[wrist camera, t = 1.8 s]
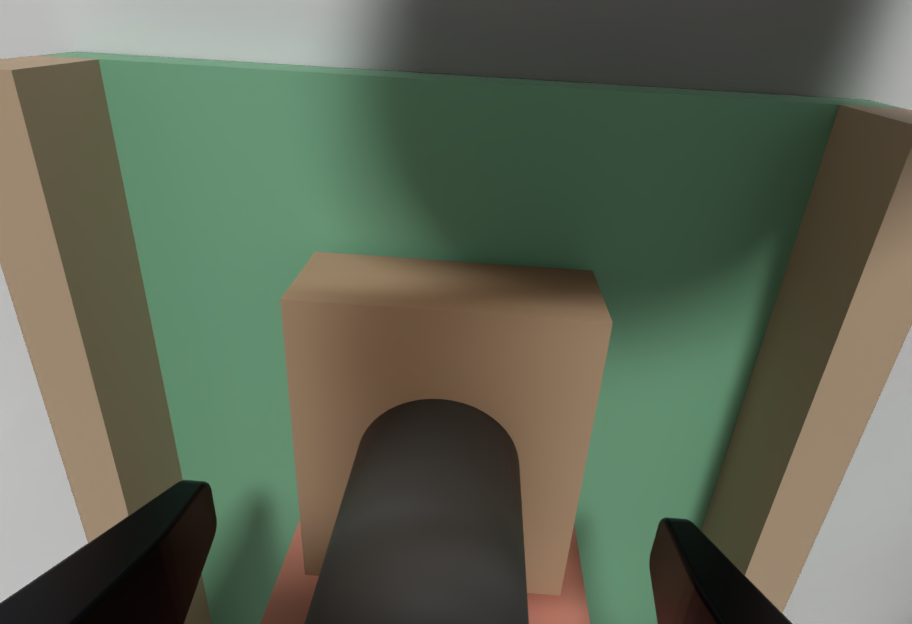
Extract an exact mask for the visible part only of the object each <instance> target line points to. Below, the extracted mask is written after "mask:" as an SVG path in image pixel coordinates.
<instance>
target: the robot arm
mask: <svg viewBox="0 0 912 624" xmlns="http://www.w3.org/2000/svg"><path fill="white" fill-rule="evenodd" d="M216 528H217V517H216V512H215V506H214V500H213V495H212V489H211V486H210V485H209V483H208V482H205V481H195V480H182V481H179V482H177V483H176V484H174V485H173V486H171V487H170V488H168V489H167V490H166V491H164V492H163V493H161V494H160V495H158V496H157V497H155V498H154V499H152V500H151V501H149V502H148V503H146V504H145V505H144V506H142V507H141V508H139V509H138V510H136V511H135V512H133V513H132V514H130V515H129V516H127V517H126V518H124V519H123V520H122V521H120V522H119V523H117V524H116V525H114V526H113V527H111V528H110V529H108V530H107V531H105V532H104V533H102V534H101V535H100V536H98V537H97V538H95V539H94V540H92V541H91V542H89V543H88V544H86V545H85V546H83V547H82V548H80V549H79V550H78V551H76V552H75V553H73V554H72V555H70V556H69V557H67V558H66V559H64V560H63V561H61V562H60V563H58V564H57V565H56V566H54V567H53V568H51V569H50V570H48V571H47V572H45V573H44V574H42V575H41V576H39V577H38V578H36V579H35V580H34V581H32V582H31V583H29V584H28V585H26V586H25V587H23V588H22V589H20V590H19V591H17V592H16V593H14V594H13V595H12V596H10V597H9V598H7V599H6V600H4V601H3V602H1V603H0V624H184V622H185V620H186V617H187V614H188V611H189V608H190V606H191V603H192V600H193V597H194V594H195V591H196V588H197V586H198V583H199V580H200V577H201V574H202V571H203V568H204V566H205V563H206V560H207V557H208V554H209V551H210V548H211V546H212V543H213V540H214V537H215V534H216ZM649 569H650V576H651V583H652V590H653V596H654V603H655V610H656V616H657V623H658V624H792V623H791V622H790V621H789V620H788V619H787V618H786V617H785V616H784V615H783V614H782V613H781V612H780V610H779V609H778V608H777V607H776V606H775V605H774V604H773V603H772V602H771V601H770V600H769V599H768V598H767V597H766V596H765V595H764V594H763V593H762V592H761V591H760V590H759V589H758V588H757V587H756V586H755V585H754V584H753V583H752V582H751V581H750V580H749V579H748V578H747V577H746V576H745V575H744V574H743V573H742V572H741V571H740V570H739V569H738V568H737V567H736V566H735V565H734V564H733V563H732V562H731V561H730V560H729V559H728V558H727V557H726V556H725V555H724V554H723V553H722V552H721V551H720V550H719V549H718V547H717V546H716V545H715V544H714V543H713V542H712V541H711V540H710V539H709V538H708V537H707V536H706V535H705V534H704V533H703V532H702V531H701V530H700V529H699V528H698V527H697V526H696V525H695V524H694V523H693V522H691V521H690V520H688V519H682V518H669V517H665V518H662V519H661V520H660V522H659V524H658V528H657V531H656V535H655V539H654V542H653V546H652V549H651V553H650V559H649Z"/></svg>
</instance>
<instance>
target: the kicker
mask: <svg viewBox="0 0 912 624" xmlns="http://www.w3.org/2000/svg"><path fill="white" fill-rule="evenodd" d="M280 301H281V313H282V324H283V335H284V346H285V357H286V369H287V380H288V391H289V402H290V414H291V425H292V436H293V447H294V458H295V470H296V481H297V492H298V503H299V514H300V520H299V523H298V525H297V528H296V531H295V533H294V536H293V539H292V541H291V544H290V547H289V549H288V552H287V554H286V557H285V560H284V562H283V565H282V568H281V570H280V573H279V576H278V578H277V581H276V584H275V586H274V589H273V592H272V594H271V597H270V600H269V602H268V605H267V607H266V610H265V613H264V615H263V618H262V621H261V623H260V624H590V619H589V613H588V607H587V600H586V594H585V588H584V582H583V575H582V569H581V563H580V557H579V550H578V544H577V538H576V532H575V525H574V522H575V516H576V511H577V506H578V501H579V496H580V490H581V485H582V480H583V475H584V470H585V464H586V459H587V454H588V449H589V444H590V439H591V433H592V428H593V423H594V418H595V413H596V407H597V402H598V397H599V392H600V387H601V381H602V376H603V371H604V366H605V361H606V355H607V350H608V345H609V340H610V335H611V329H612V324H613V322H612V319H611V317H610V314H609V312H608V309H607V306H606V304H605V301H604V299H603V296H602V293H601V291H600V288H599V286H598V283H597V281H596V278H595V275H594V273H593V271H591V270H576V269H561V268H547V267H532V266H518V265H503V264H488V263H474V262H459V261H445V260H430V259H416V258H401V257H386V256H372V255H357V254H343V253H328V252H314V254H313V255H312V257H311V258H310V259H309V261H308V262H307V263H306V265H305V266H304V268H303V269H302V270H301V272H300V273H299V274H298V276H297V277H296V278H295V280H294V281H293V283H292V284H291V285H290V287H289V288H288V289H287V291H286V292H285V293H284V295H283V296H282V298H281V299H280Z"/></svg>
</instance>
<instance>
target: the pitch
mask: <svg viewBox="0 0 912 624" xmlns="http://www.w3.org/2000/svg"><path fill="white" fill-rule="evenodd" d="M314 252H328V253H343V254H357V255H372V256H386V257H401V258H416V259H430V260H445V261H459V262H474V263H488V264H503V265H518V266H532V267H547V268H561V269H576V270H591V271H593V273H594V275H595V278H596V281H597V283H598V286H599V288H600V291H601V293H602V296H603V299H604V301H605V304H606V306H607V309H608V312H609V314H610V317H611V319H612V322H613V324H612V329H611V335H610V340H609V345H608V350H607V355H606V361H605V366H604V371H603V376H602V381H601V387H600V392H599V397H598V402H597V407H596V413H595V418H594V423H593V428H592V433H591V439H590V444H589V449H588V454H587V459H586V464H585V470H584V475H583V480H582V485H581V490H580V496H579V501H578V506H577V511H576V516H575V522H574V525H575V532H576V538H577V544H578V550H579V557H580V563H581V569H582V575H583V582H584V588H585V594H586V600H587V607H588V613H589V619H590V624H658V623H657V616H656V610H655V603H654V596H653V590H652V583H651V576H650V569H649V559H650V553H651V549H652V546H653V542H654V539H655V535H656V531H657V528H658V524H659V522H660V520H661V519H662V518H665V517H669V518H682V519H688V520H690V521H691V522H693V523H694V524H695V525H696V526H697V527H698V528H699V529H700V530H701V531H702V532H703V533H704V534H705V535H706V536H707V537H708V538H709V539H710V540H711V541H712V542H713V543H714V544H715V545H716V546H717V547H718V549H719V550H720V551H721V552H722V553H723V554H724V555H725V556H726V557H727V558H728V559H729V560H730V561H731V562H732V563H733V564H734V565H735V566H736V567H737V568H738V569H739V570H740V571H741V572H742V573H743V574H744V575H745V576H746V577H747V578H748V579H749V580H750V581H751V582H752V583H753V584H754V585H755V586H756V587H757V588H758V589H759V590H760V591H761V592H762V593H763V594H764V595H765V596H766V597H767V598H768V599H769V600H770V601H771V602H772V603H773V604H774V605H775V606H776V607H777V608H778V609H779V610H780V612H781V613H783V611H784V608H785V606H786V604H787V602H788V600H789V597H790V595H791V593H792V591H793V588H794V586H795V584H796V582H797V579H798V577H799V575H800V573H801V571H802V568H803V566H804V564H805V562H806V559H807V557H808V555H809V553H810V550H811V548H812V546H813V544H814V542H815V539H816V537H817V535H818V533H819V530H820V528H821V526H822V524H823V521H824V519H825V517H826V515H827V513H828V510H829V508H830V506H831V504H832V501H833V499H834V497H835V495H836V492H837V490H838V488H839V486H840V484H841V481H842V479H843V477H844V475H845V472H846V470H847V468H848V466H849V463H850V461H851V459H852V457H853V454H854V452H855V450H856V448H857V446H858V443H859V441H860V439H861V437H862V434H863V432H864V430H865V428H866V425H867V423H868V421H869V419H870V417H871V414H872V412H873V410H874V408H875V405H876V403H877V401H878V399H879V396H880V394H881V392H882V390H883V388H884V385H885V383H886V381H887V379H888V376H889V374H890V372H891V370H892V367H893V365H894V363H895V361H896V359H897V356H898V354H899V352H900V350H901V347H902V345H903V343H904V341H905V338H906V336H907V334H908V332H909V329H910V327H911V325H912V110H907V109H903V108H899V107H895V106H891V105H887V104H882V103H878V102H874V101H870V100H858V99H842V98H826V97H809V96H793V95H777V94H760V93H744V92H727V91H711V90H695V89H678V88H662V87H645V86H629V85H613V84H596V83H580V82H563V81H547V80H531V79H514V78H498V77H481V76H465V75H449V74H432V73H416V72H400V71H383V70H367V69H350V68H334V67H318V66H301V65H285V64H268V63H252V62H236V61H219V60H203V59H186V58H170V57H154V56H137V55H121V54H104V53H88V52H69V53H59V54H49V55H39V56H29V57H19V58H9V59H0V263H1V267H2V270H3V273H4V276H5V279H6V283H7V286H8V289H9V292H10V295H11V299H12V302H13V305H14V308H15V311H16V314H17V318H18V321H19V324H20V327H21V330H22V334H23V337H24V340H25V343H26V346H27V350H28V353H29V356H30V359H31V362H32V365H33V369H34V372H35V375H36V378H37V381H38V385H39V388H40V391H41V394H42V397H43V401H44V404H45V407H46V410H47V413H48V417H49V420H50V423H51V426H52V429H53V432H54V436H55V439H56V442H57V445H58V448H59V452H60V455H61V458H62V461H63V464H64V468H65V471H66V474H67V477H68V480H69V483H70V487H71V490H72V493H73V496H74V499H75V503H76V506H77V509H78V512H79V515H80V519H81V522H82V525H83V528H84V531H85V534H86V538H87V541H88V543H89V542H91V541H92V540H94V539H95V538H97V537H98V536H100V535H101V534H102V533H104V532H105V531H107V530H108V529H110V528H111V527H113V526H114V525H116V524H117V523H119V522H120V521H122V520H123V519H124V518H126V517H127V516H129V515H130V514H132V513H133V512H135V511H136V510H138V509H139V508H141V507H142V506H144V505H145V504H146V503H148V502H149V501H151V500H152V499H154V498H155V497H157V496H158V495H160V494H161V493H163V492H164V491H166V490H167V489H168V488H170V487H171V486H173V485H174V484H176V483H177V482H179V481H182V480H195V481H205V482H208V483H209V485H210V486H211V489H212V495H213V500H214V506H215V512H216V517H217V528H216V534H215V537H214V540H213V543H212V546H211V548H210V551H209V554H208V557H207V560H206V563H205V566H204V568H203V571H202V574H201V577H200V580H199V583H198V586H197V588H196V591H195V594H194V597H193V600H192V603H191V606H190V608H189V611H188V614H187V617H186V620H185V622H184V624H260V623H261V621H262V618H263V615H264V613H265V610H266V607H267V605H268V602H269V600H270V597H271V594H272V592H273V589H274V586H275V584H276V581H277V578H278V576H279V573H280V570H281V568H282V565H283V562H284V560H285V557H286V554H287V552H288V549H289V547H290V544H291V541H292V539H293V536H294V533H295V531H296V528H297V525H298V523H299V520H300V514H299V503H298V492H297V481H296V470H295V458H294V447H293V436H292V425H291V414H290V402H289V391H288V380H287V369H286V357H285V346H284V335H283V324H282V313H281V301H280V299H281V298H282V296H283V295H284V293H285V292H286V291H287V289H288V288H289V287H290V285H291V284H292V283H293V281H294V280H295V278H296V277H297V276H298V274H299V273H300V272H301V270H302V269H303V268H304V266H305V265H306V263H307V262H308V261H309V259H310V258H311V257H312V255H313V254H314Z"/></svg>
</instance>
